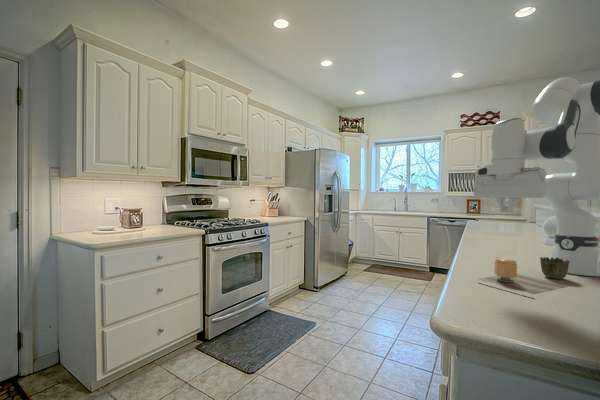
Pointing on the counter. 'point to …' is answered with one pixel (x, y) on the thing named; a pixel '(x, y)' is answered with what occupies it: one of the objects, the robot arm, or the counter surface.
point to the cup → (554, 267)
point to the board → (526, 284)
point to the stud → (505, 280)
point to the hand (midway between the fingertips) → (506, 212)
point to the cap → (505, 268)
